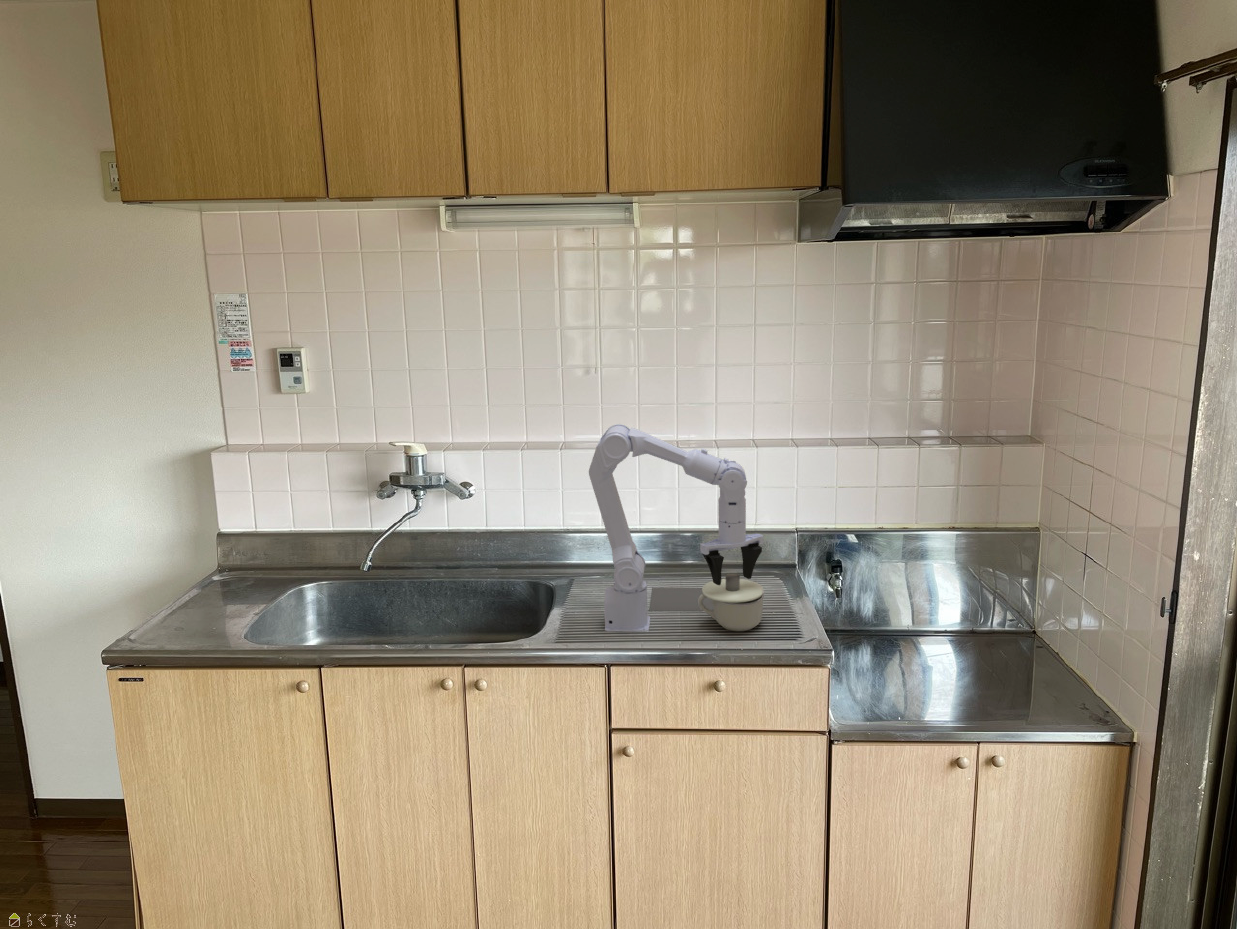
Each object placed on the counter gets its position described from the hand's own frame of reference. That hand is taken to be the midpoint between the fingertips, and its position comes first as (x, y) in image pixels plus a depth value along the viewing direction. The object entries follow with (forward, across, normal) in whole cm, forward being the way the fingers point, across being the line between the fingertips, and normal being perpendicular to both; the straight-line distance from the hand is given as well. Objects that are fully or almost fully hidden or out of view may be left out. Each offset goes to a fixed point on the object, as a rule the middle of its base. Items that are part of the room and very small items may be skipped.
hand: (732, 580), depth 197 cm
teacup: (+11, 0, 0) cm, 11 cm away
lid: (+2, 0, 0) cm, 3 cm away
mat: (+10, +2, -18) cm, 21 cm away
